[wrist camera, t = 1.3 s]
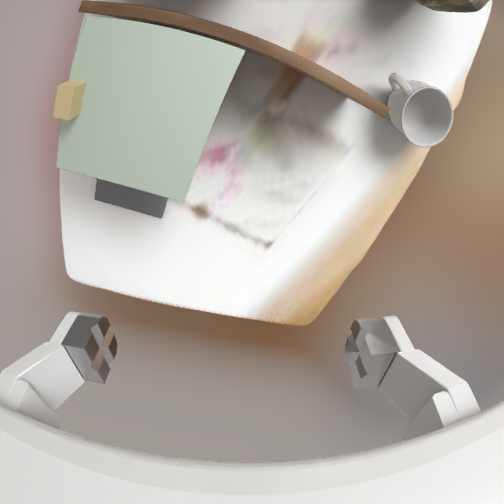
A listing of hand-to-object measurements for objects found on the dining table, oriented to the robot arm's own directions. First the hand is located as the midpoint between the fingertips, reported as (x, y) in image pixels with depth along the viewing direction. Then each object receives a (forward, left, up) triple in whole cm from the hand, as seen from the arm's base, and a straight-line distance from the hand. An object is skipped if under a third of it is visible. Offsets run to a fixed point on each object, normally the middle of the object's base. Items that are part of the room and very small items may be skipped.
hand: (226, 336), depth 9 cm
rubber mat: (+20, -11, -40) cm, 46 cm away
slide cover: (+2, -11, -28) cm, 30 cm away
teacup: (-14, +26, -40) cm, 50 cm away
